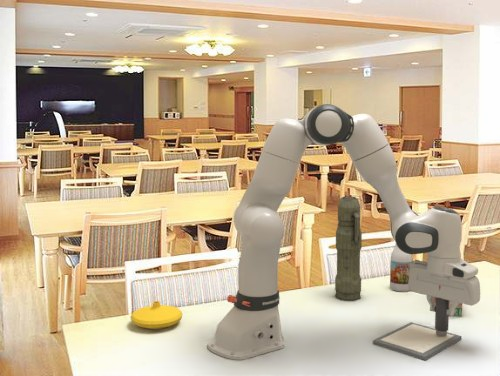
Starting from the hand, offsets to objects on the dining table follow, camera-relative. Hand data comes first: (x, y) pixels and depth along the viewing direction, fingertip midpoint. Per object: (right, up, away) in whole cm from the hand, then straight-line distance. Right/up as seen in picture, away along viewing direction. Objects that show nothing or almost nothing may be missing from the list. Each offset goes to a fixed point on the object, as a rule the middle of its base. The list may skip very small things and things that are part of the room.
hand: (441, 313), depth 168 cm
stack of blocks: (+11, -4, +30) cm, 32 cm away
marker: (0, -6, +1) cm, 6 cm away
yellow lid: (-82, -7, +15) cm, 84 cm away
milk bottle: (+1, -2, +49) cm, 49 cm away
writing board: (-7, -8, 0) cm, 11 cm away
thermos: (-20, -3, +40) cm, 45 cm away
